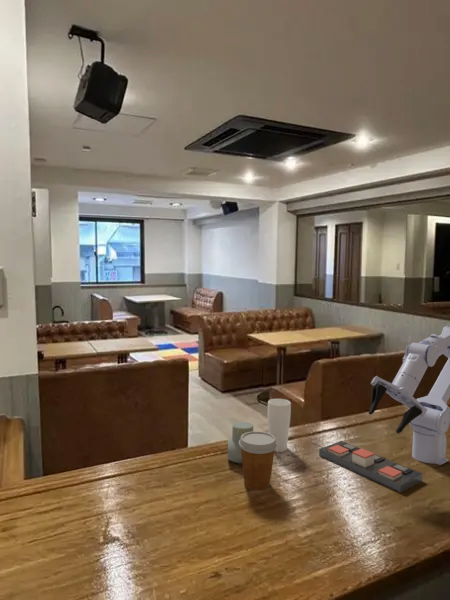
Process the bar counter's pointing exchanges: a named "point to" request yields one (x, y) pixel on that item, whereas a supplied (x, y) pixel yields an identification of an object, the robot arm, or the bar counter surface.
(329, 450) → the button
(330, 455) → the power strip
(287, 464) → the bar counter surface
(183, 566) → the bar counter surface
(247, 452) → the disposable coffee cup
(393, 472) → the button
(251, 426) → the air freshener
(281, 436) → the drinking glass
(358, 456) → the button
